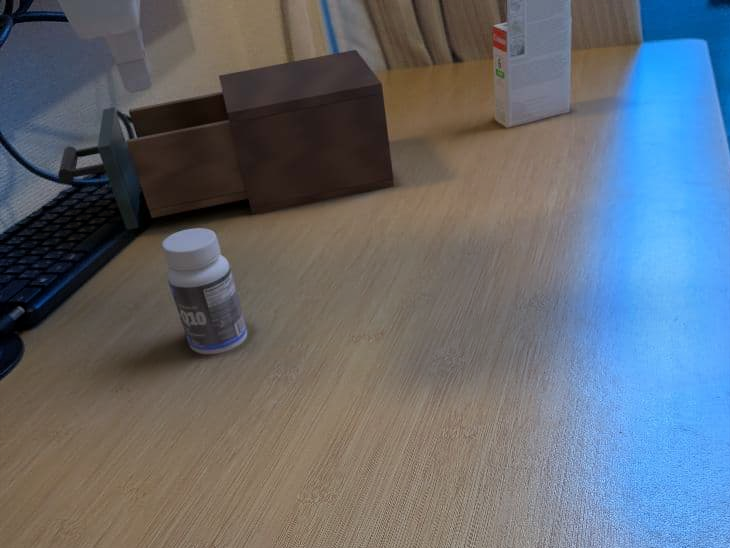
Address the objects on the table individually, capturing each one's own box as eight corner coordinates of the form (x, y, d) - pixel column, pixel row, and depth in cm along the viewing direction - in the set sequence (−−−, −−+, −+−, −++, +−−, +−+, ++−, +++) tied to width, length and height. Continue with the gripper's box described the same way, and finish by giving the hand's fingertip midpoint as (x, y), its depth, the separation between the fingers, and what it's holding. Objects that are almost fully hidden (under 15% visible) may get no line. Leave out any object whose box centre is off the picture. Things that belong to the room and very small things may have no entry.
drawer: (77, 240, 81) (44, 157, 76) (84, 194, 90) (55, 118, 85) (260, 203, 83) (241, 119, 77) (250, 162, 92) (232, 84, 86)
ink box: (493, 122, 95) (488, -29, 85) (555, 106, 97) (557, -44, 87) (507, 130, 93) (504, -24, 82) (570, 114, 94) (574, -39, 84)
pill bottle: (178, 346, 66) (143, 244, 60) (223, 320, 68) (194, 220, 62) (214, 363, 63) (182, 259, 57) (260, 335, 65) (233, 232, 60)
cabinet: (252, 216, 83) (227, 112, 76) (242, 171, 93) (218, 75, 86) (394, 188, 84) (382, 83, 77) (369, 145, 94) (356, 49, 87)
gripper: (17, -179, 53) (99, 60, 62) (-32, -172, 38) (85, 140, 48) (114, -197, 54) (181, 43, 63) (103, -197, 39) (192, 117, 48)
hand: (140, 86), depth 55 cm, fingers closed
